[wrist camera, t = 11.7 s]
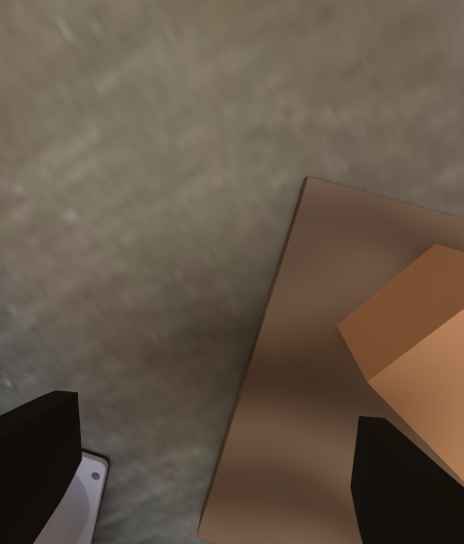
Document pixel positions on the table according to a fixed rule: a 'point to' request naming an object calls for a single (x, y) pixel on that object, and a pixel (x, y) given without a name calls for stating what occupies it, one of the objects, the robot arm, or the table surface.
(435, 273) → the terracotta cube
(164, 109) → the table surface
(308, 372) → the board
